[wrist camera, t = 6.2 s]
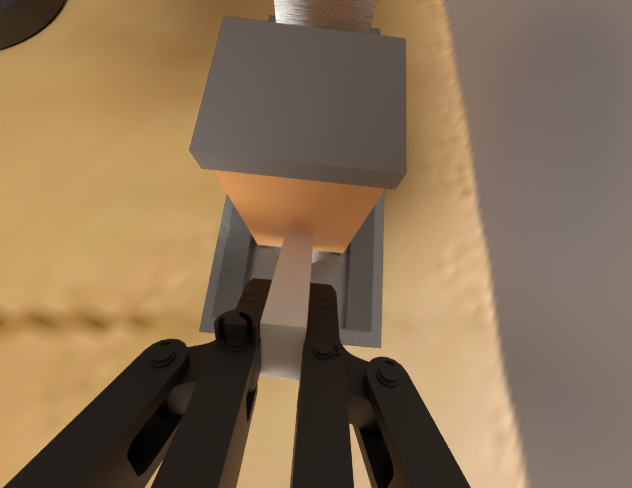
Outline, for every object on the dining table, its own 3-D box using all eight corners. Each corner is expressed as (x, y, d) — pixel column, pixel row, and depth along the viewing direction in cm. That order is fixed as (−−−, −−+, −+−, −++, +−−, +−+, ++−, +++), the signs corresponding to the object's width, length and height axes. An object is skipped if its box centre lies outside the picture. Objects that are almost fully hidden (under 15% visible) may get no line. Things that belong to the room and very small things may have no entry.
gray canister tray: (376, 346, 18) (507, 398, 7) (204, 330, 18) (28, 357, 6) (384, 46, 26) (450, -172, 14) (263, 31, 26) (232, -204, 14)
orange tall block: (345, 256, 18) (406, 173, 8) (254, 247, 18) (188, 149, 8) (349, 187, 20) (405, 38, 9) (265, 178, 20) (223, 16, 9)
